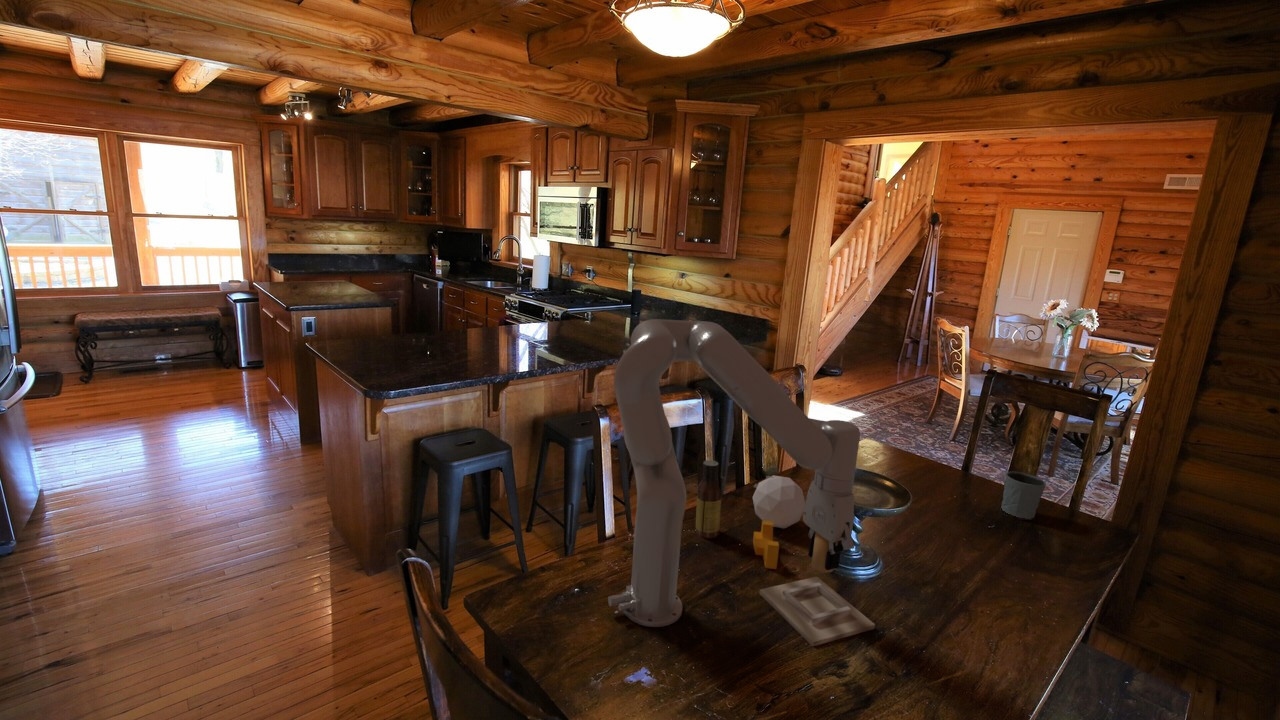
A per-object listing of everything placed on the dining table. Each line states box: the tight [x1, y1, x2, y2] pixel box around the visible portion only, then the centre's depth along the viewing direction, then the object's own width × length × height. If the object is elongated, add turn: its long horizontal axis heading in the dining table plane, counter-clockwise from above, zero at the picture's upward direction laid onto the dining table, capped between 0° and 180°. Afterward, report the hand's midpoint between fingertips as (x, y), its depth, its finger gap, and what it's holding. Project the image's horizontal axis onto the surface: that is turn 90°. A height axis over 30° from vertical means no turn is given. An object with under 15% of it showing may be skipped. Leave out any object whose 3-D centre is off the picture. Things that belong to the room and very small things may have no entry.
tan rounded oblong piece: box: [810, 532, 838, 574], centre depth 124 cm, size 4×4×8 cm
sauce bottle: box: [695, 459, 722, 539], centre depth 154 cm, size 7×6×20 cm
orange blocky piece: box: [752, 520, 780, 570], centre depth 147 cm, size 12×4×6 cm, turn 175°
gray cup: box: [1000, 471, 1047, 519], centre depth 178 cm, size 10×10×12 cm
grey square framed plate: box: [759, 576, 876, 647], centre depth 127 cm, size 16×18×3 cm
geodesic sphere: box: [752, 475, 806, 529], centre depth 162 cm, size 15×14×14 cm
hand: (823, 561), depth 124 cm, fingers closed on tan rounded oblong piece, 4 cm apart
